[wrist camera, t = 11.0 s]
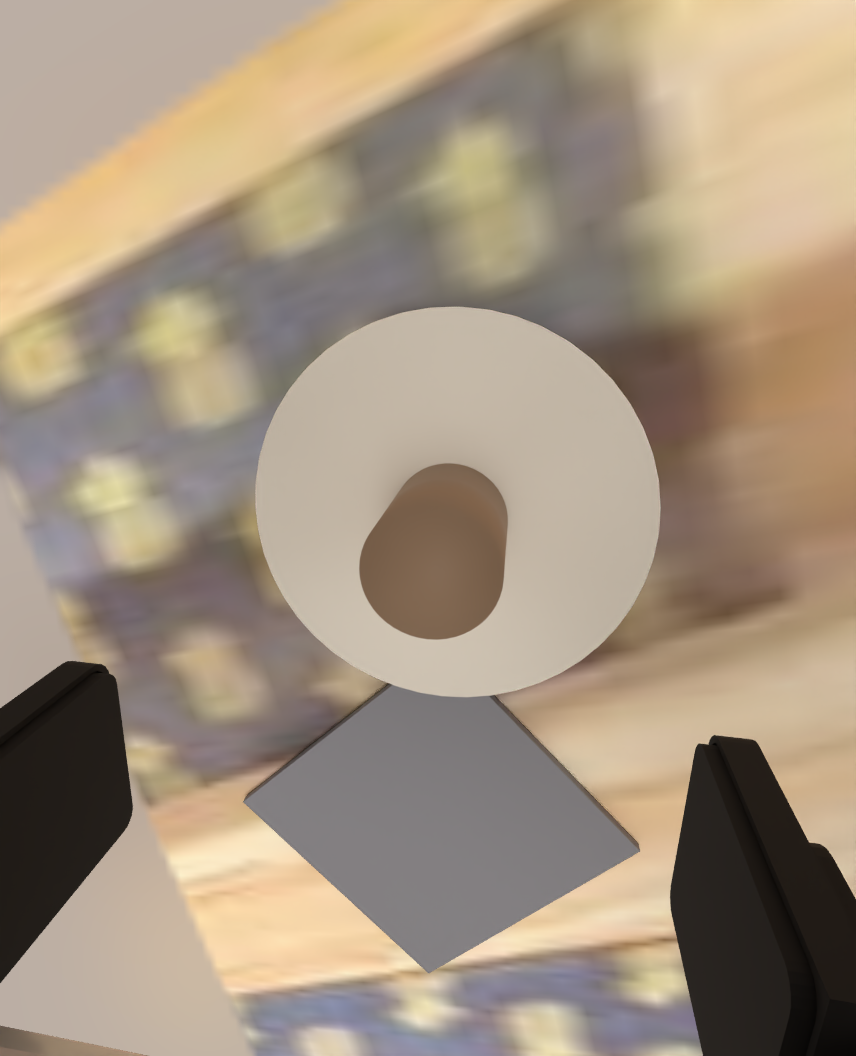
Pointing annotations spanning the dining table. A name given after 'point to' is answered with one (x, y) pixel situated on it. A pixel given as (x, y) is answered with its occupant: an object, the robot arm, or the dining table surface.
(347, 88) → the dining table surface
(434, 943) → the mat
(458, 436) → the lid
